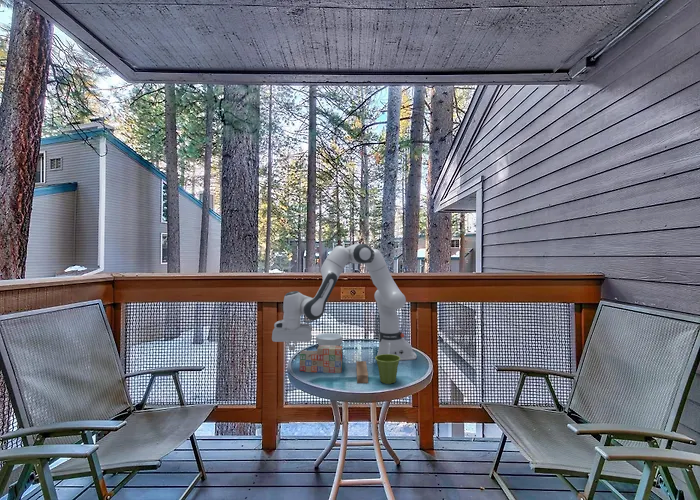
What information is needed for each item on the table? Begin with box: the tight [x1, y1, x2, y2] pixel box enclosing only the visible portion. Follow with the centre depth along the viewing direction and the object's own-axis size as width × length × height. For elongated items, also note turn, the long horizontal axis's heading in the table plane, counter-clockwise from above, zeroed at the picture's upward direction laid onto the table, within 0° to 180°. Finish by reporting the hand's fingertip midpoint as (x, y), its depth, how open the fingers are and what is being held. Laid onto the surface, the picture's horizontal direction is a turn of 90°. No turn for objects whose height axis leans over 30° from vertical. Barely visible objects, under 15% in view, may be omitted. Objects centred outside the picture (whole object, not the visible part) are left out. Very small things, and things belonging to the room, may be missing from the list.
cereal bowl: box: [315, 332, 343, 346], centre depth 224 cm, size 17×17×7 cm
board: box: [355, 360, 369, 384], centre depth 176 cm, size 5×20×4 cm, turn 0°
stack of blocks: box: [299, 345, 343, 374], centre depth 183 cm, size 21×6×12 cm, turn 85°
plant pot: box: [374, 354, 401, 385], centre depth 168 cm, size 12×12×11 cm
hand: (292, 350), depth 183 cm, fingers closed
